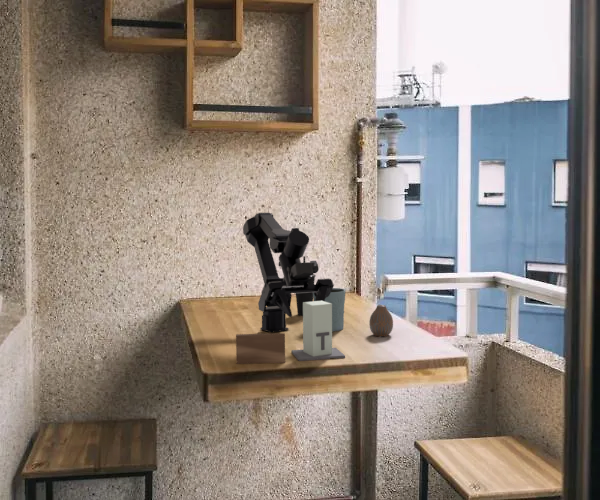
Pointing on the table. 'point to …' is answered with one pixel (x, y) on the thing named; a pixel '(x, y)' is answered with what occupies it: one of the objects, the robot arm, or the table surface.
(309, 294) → the drinking cup
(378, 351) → the table surface
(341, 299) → the blue-grey pot
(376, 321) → the vase
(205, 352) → the table surface
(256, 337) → the walnut screen
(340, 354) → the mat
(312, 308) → the pale green block
